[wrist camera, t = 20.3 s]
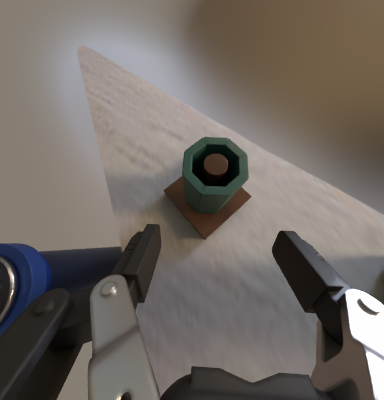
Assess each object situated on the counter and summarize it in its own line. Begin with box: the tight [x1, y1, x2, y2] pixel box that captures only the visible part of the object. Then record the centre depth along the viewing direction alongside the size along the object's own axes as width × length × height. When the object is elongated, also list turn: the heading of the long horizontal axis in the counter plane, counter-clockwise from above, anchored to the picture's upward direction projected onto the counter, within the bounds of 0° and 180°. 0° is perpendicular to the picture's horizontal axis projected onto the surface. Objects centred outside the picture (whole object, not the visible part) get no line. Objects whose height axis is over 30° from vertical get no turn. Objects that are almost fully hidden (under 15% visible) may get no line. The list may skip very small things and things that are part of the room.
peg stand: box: [164, 154, 251, 239], centre depth 17 cm, size 9×9×10 cm
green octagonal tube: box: [182, 137, 249, 214], centre depth 16 cm, size 6×6×8 cm
